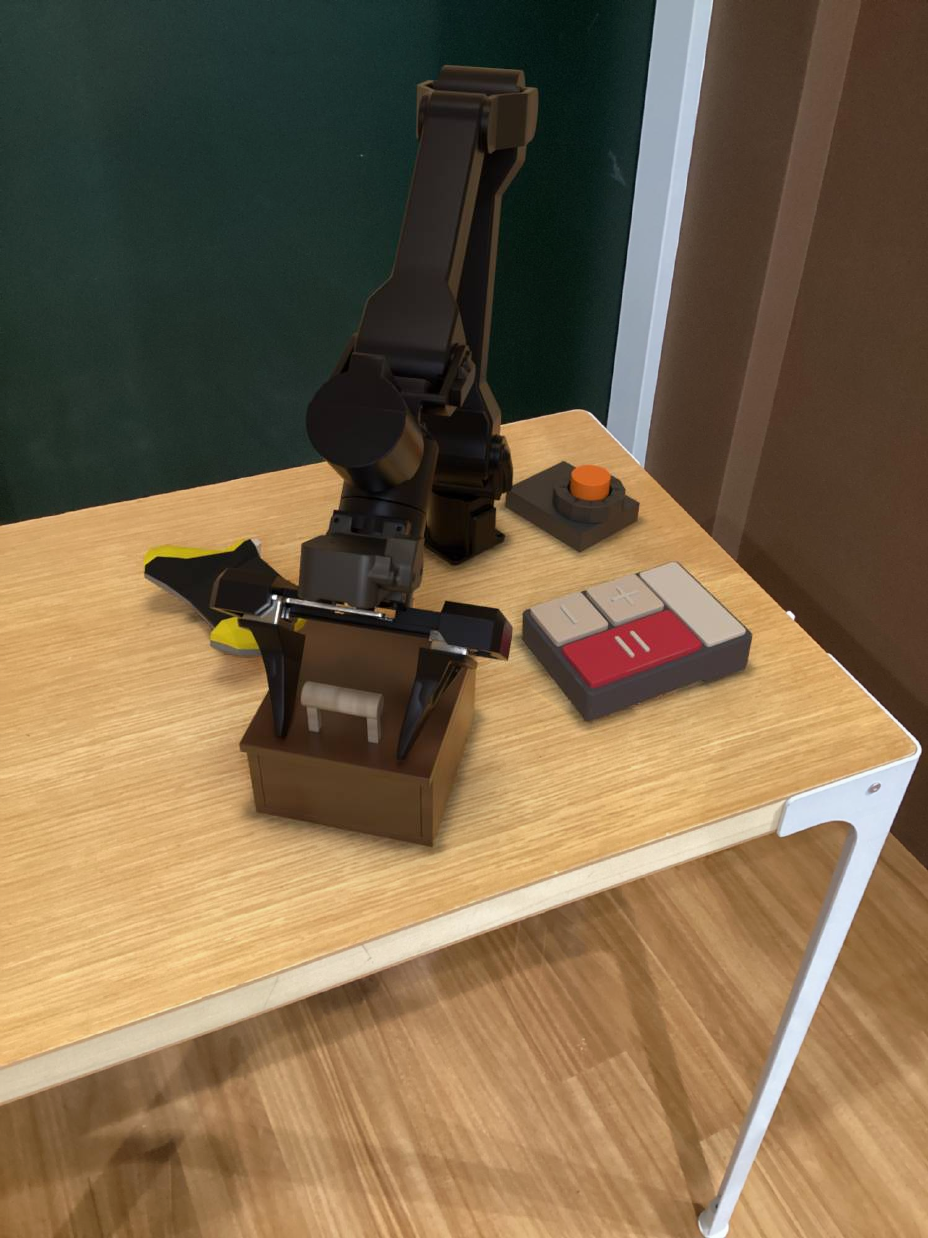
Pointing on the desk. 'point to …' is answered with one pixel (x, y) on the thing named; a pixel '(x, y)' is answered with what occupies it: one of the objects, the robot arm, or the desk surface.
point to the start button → (590, 482)
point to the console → (571, 508)
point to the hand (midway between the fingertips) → (340, 748)
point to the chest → (365, 789)
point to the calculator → (635, 639)
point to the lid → (357, 707)
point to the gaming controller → (209, 586)
